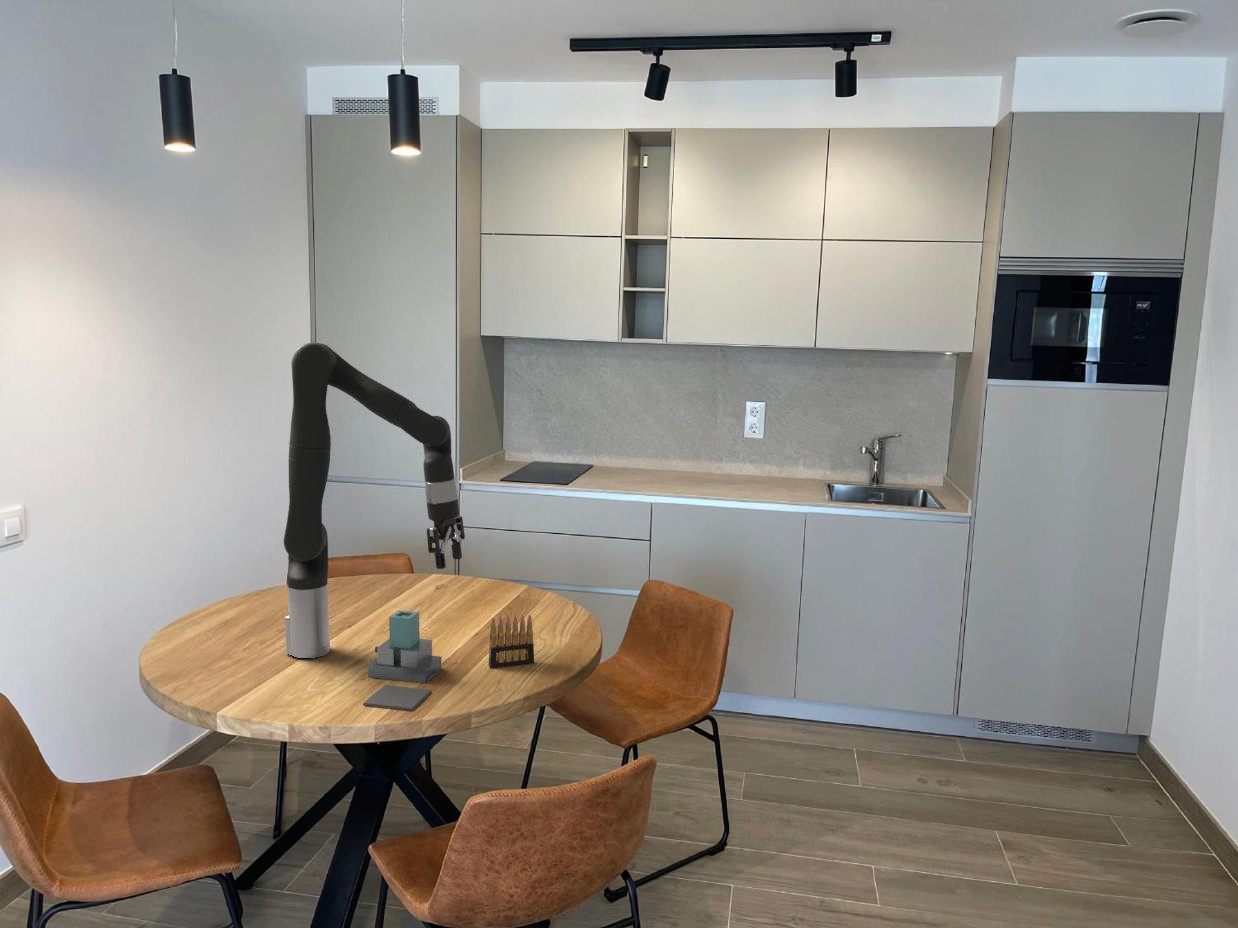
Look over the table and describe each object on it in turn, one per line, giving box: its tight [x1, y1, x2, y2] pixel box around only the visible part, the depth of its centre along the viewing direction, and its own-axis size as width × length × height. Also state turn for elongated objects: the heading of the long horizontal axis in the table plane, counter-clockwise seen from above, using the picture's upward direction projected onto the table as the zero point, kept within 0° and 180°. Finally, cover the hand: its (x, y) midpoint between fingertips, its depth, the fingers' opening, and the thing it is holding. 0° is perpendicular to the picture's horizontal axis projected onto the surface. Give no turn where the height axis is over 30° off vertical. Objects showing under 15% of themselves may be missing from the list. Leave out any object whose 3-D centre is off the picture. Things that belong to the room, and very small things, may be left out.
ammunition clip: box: [488, 614, 535, 669], centre depth 211 cm, size 11×2×12 cm, turn 110°
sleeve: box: [388, 609, 421, 648], centre depth 204 cm, size 5×5×7 cm
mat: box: [362, 684, 432, 712], centre depth 191 cm, size 11×10×1 cm
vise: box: [367, 615, 443, 684], centre depth 205 cm, size 14×9×14 cm, turn 78°
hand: (449, 563), depth 218 cm, fingers open, 8 cm apart
